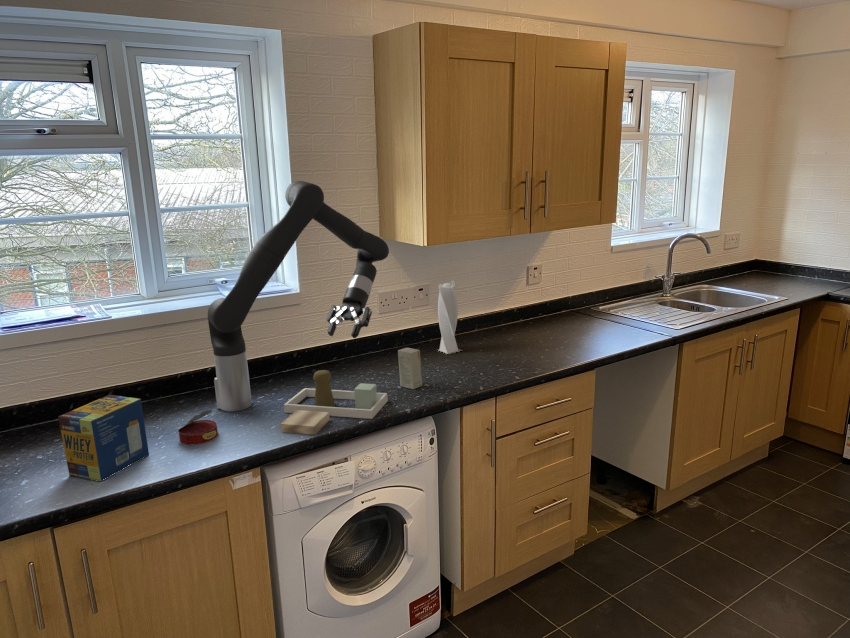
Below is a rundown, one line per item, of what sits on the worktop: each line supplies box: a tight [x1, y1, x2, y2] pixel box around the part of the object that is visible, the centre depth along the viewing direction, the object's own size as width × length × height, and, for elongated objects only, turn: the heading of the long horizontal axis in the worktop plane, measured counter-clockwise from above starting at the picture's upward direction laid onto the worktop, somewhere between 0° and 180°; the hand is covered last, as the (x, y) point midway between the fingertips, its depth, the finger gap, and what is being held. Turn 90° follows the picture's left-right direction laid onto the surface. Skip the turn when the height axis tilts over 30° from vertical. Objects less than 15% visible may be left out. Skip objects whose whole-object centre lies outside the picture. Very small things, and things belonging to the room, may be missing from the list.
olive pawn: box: [313, 369, 336, 407], centre depth 186 cm, size 6×6×11 cm
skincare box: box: [397, 347, 423, 390], centre depth 200 cm, size 6×4×12 cm
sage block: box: [353, 382, 378, 410], centre depth 183 cm, size 5×5×7 cm
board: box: [279, 410, 331, 436], centre depth 173 cm, size 10×10×2 cm
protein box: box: [57, 394, 150, 482], centre depth 152 cm, size 10×15×16 cm
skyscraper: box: [437, 279, 463, 355], centre depth 234 cm, size 8×8×28 cm
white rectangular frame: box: [283, 387, 388, 420], centre depth 186 cm, size 27×14×2 cm, turn 75°
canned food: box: [177, 409, 219, 446], centre depth 168 cm, size 11×10×10 cm
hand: (341, 335), depth 194 cm, fingers open, 8 cm apart
